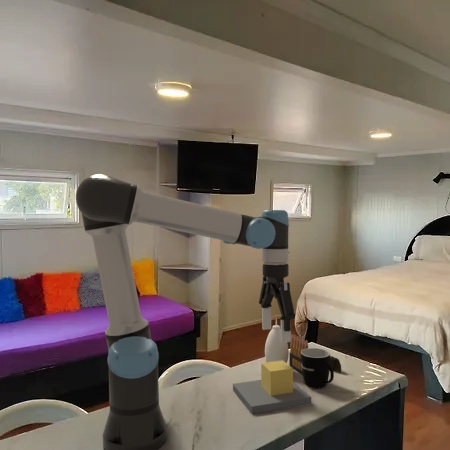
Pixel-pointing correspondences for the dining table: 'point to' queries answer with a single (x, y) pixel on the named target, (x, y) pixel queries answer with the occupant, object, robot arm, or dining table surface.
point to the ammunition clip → (296, 352)
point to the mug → (316, 367)
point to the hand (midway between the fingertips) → (275, 335)
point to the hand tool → (335, 364)
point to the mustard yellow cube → (277, 377)
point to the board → (268, 397)
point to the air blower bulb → (276, 346)
